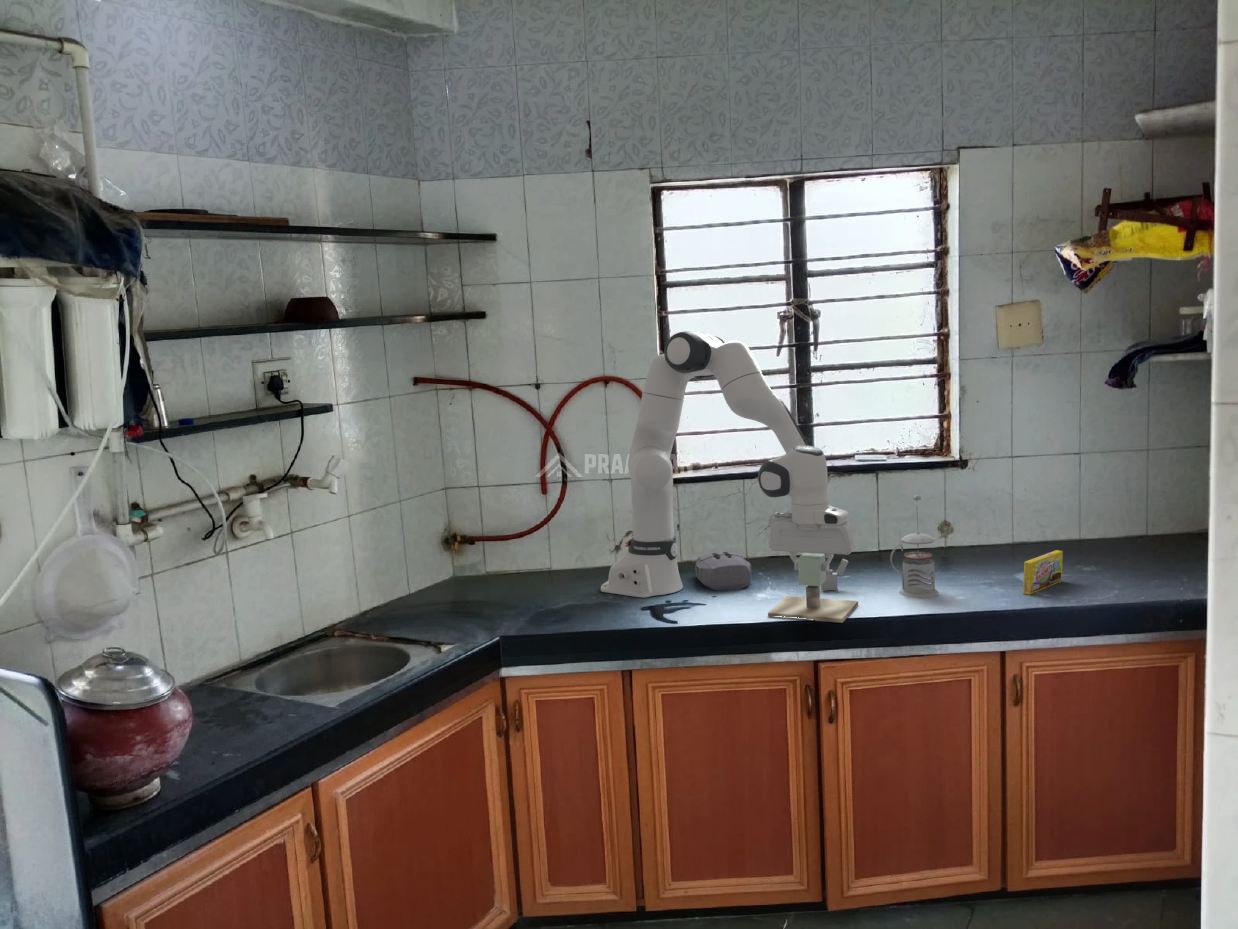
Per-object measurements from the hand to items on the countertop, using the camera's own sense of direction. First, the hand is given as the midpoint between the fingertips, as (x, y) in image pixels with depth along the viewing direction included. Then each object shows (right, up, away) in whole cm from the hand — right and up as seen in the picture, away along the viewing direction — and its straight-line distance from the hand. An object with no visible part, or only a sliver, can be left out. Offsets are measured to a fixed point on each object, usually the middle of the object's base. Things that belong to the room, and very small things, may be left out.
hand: (811, 570), depth 238 cm
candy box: (+60, -6, +9) cm, 61 cm away
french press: (+28, -7, +12) cm, 32 cm away
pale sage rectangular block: (0, -3, 0) cm, 3 cm away
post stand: (+1, -10, +1) cm, 10 cm away
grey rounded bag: (-18, -7, +34) cm, 39 cm away
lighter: (+10, -7, +19) cm, 22 cm away
